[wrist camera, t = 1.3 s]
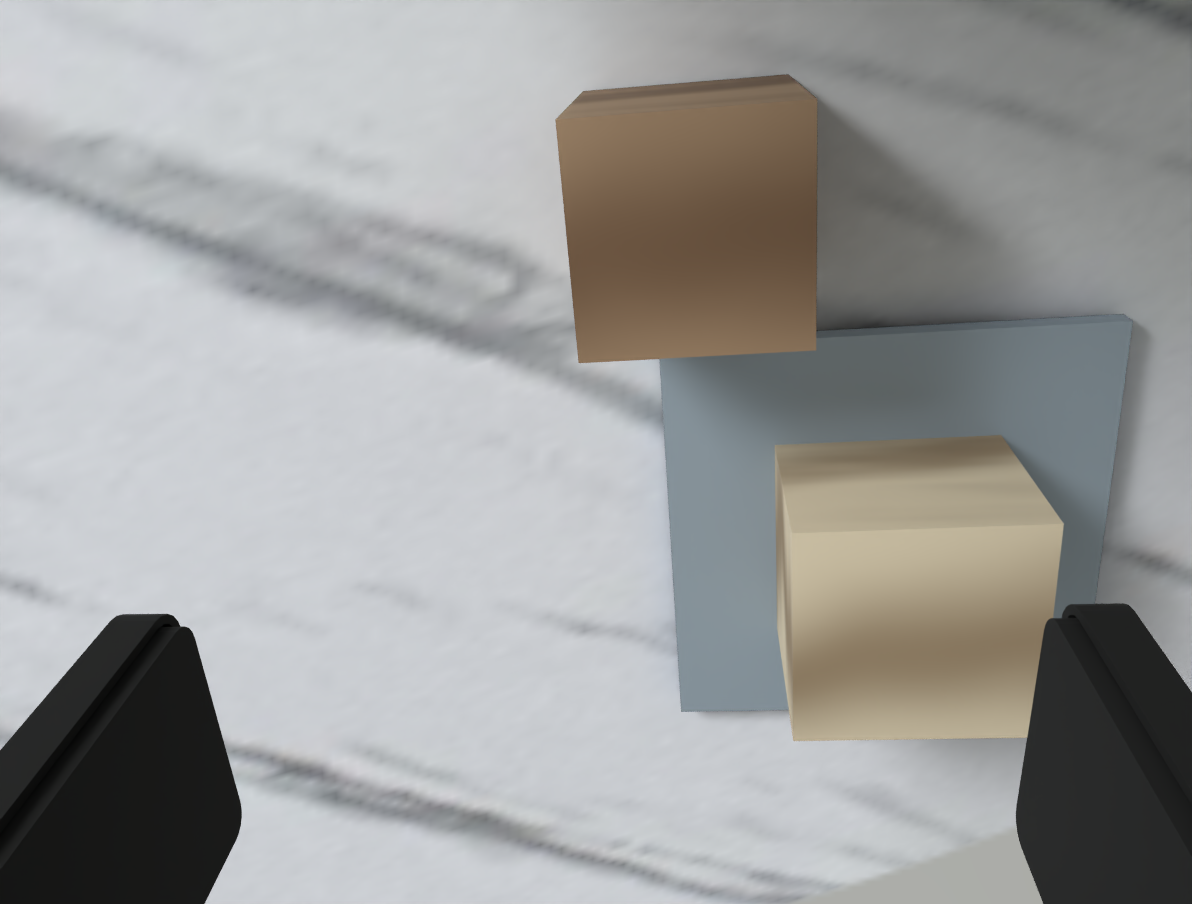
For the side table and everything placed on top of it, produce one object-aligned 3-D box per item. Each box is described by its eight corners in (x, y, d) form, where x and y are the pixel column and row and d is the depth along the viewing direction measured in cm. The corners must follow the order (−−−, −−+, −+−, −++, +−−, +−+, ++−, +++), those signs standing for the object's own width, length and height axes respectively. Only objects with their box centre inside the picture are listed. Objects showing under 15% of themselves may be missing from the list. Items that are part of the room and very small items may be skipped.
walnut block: (583, 90, 25) (555, 119, 20) (788, 74, 25) (817, 99, 19) (599, 288, 27) (578, 363, 22) (789, 276, 27) (816, 350, 21)
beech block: (774, 445, 28) (792, 533, 24) (1001, 434, 27) (1063, 523, 23) (777, 628, 31) (793, 740, 26) (985, 623, 30) (1039, 737, 25)
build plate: (659, 339, 28) (658, 346, 27) (1124, 313, 26) (1132, 321, 26) (681, 699, 33) (681, 711, 32) (1074, 692, 31) (1081, 704, 31)
